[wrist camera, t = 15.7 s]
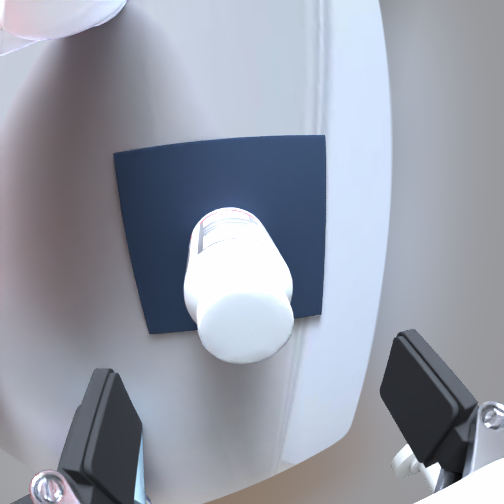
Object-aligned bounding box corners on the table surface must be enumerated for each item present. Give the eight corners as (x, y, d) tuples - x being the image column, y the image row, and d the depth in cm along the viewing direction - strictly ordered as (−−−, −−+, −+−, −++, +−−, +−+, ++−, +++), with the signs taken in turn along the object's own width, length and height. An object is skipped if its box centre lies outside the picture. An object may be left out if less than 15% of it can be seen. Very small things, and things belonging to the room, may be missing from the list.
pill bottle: (244, 290, 23) (267, 388, 14) (176, 260, 21) (159, 352, 12) (282, 228, 21) (334, 300, 12) (212, 191, 20) (216, 244, 11)
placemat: (324, 135, 19) (325, 135, 19) (320, 313, 25) (321, 314, 24) (114, 153, 18) (113, 153, 18) (149, 332, 23) (149, 334, 23)
